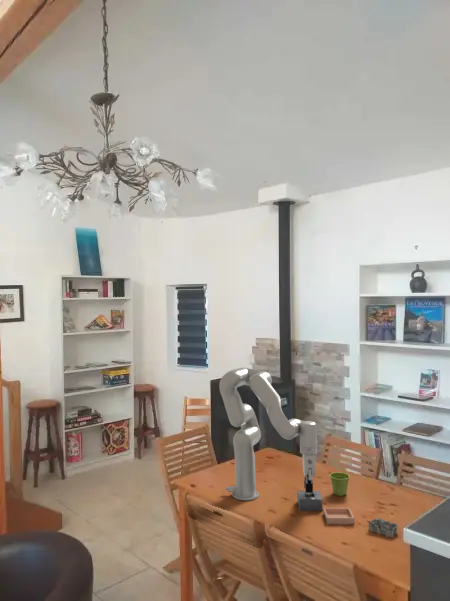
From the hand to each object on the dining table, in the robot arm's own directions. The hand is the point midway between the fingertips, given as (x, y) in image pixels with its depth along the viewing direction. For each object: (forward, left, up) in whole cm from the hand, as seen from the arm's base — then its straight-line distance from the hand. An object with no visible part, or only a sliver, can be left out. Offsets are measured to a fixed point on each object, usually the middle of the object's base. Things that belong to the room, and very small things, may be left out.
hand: (308, 489), depth 223 cm
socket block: (0, 0, -7) cm, 7 cm away
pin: (0, 0, -6) cm, 6 cm away
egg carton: (+27, -24, -8) cm, 37 cm away
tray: (+11, -13, -7) cm, 19 cm away
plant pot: (+16, +15, -7) cm, 23 cm away
